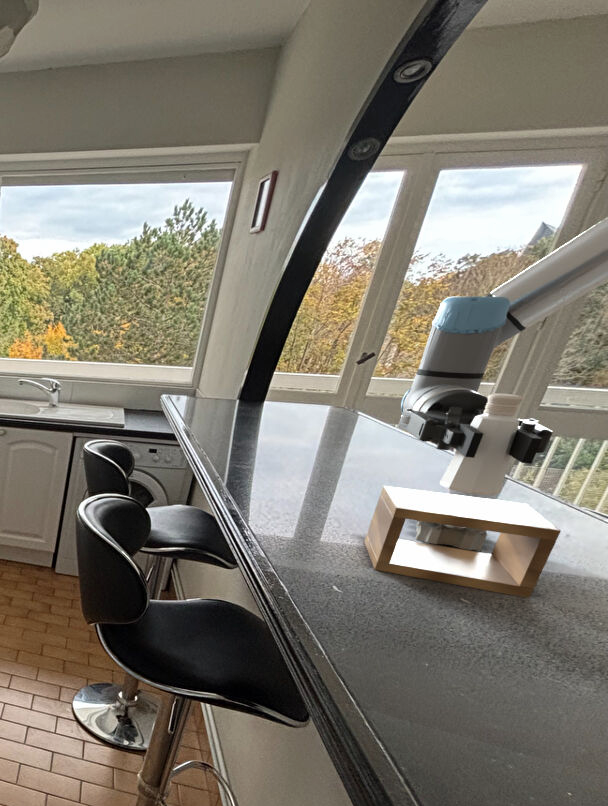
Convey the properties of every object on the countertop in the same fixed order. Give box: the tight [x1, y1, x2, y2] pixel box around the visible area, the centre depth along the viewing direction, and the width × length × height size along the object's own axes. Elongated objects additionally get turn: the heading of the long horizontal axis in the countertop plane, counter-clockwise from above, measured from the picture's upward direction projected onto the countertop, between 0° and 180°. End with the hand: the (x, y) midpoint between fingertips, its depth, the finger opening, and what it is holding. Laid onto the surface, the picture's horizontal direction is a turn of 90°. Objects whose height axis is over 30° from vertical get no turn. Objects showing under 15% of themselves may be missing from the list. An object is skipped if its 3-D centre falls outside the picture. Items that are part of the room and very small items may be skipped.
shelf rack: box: [364, 485, 562, 599], centre depth 73 cm, size 14×11×8 cm
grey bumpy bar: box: [415, 520, 488, 552], centre depth 83 cm, size 11×8×4 cm
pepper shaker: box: [439, 393, 524, 496], centre depth 68 cm, size 5×5×11 cm
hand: (502, 448), depth 64 cm, fingers closed on pepper shaker, 4 cm apart
